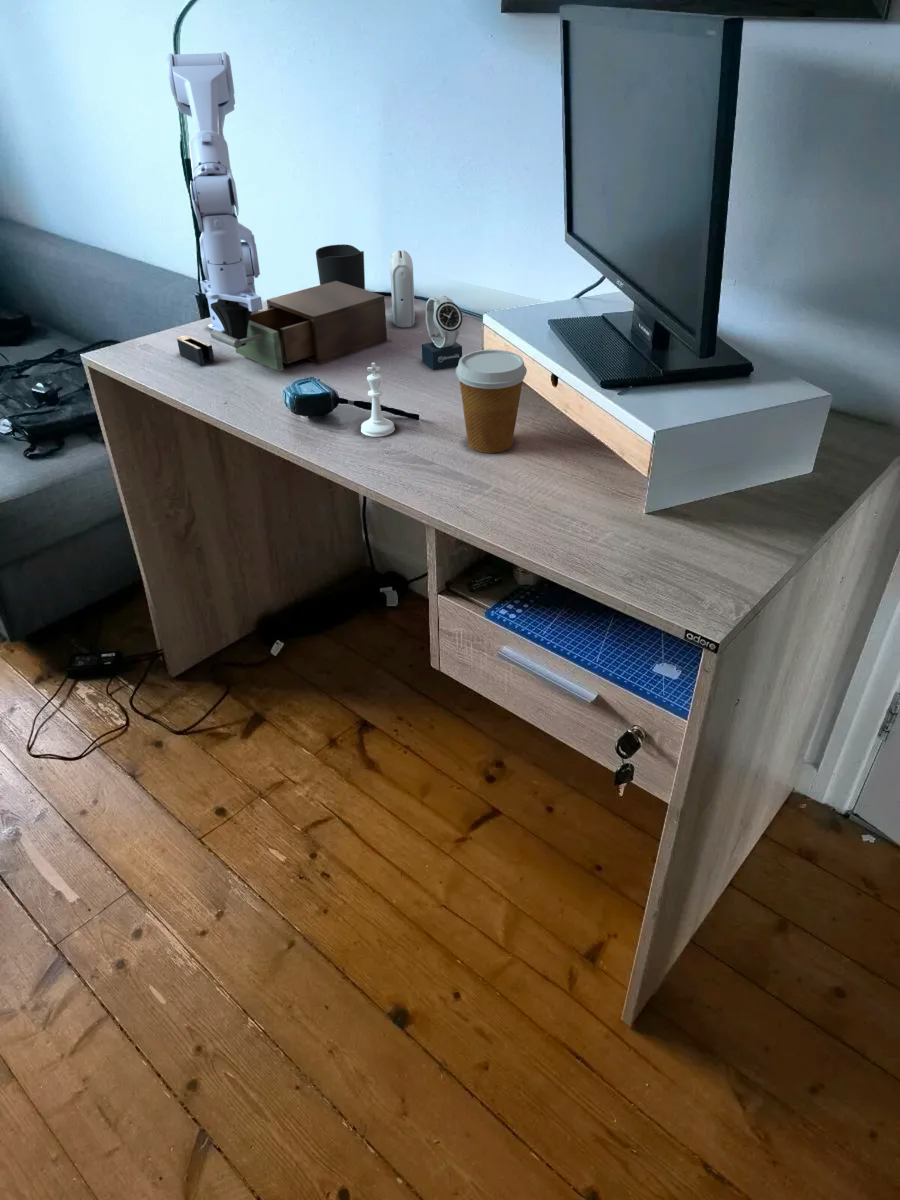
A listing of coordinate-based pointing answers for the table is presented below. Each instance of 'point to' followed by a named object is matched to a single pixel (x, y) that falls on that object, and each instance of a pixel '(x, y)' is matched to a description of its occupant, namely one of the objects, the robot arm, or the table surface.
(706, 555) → the table surface
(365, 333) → the cabinet
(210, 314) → the robot arm
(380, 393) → the chess piece
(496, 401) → the disposable coffee cup
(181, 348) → the tongs
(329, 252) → the pen holder
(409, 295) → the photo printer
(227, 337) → the drawer
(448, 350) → the watch
